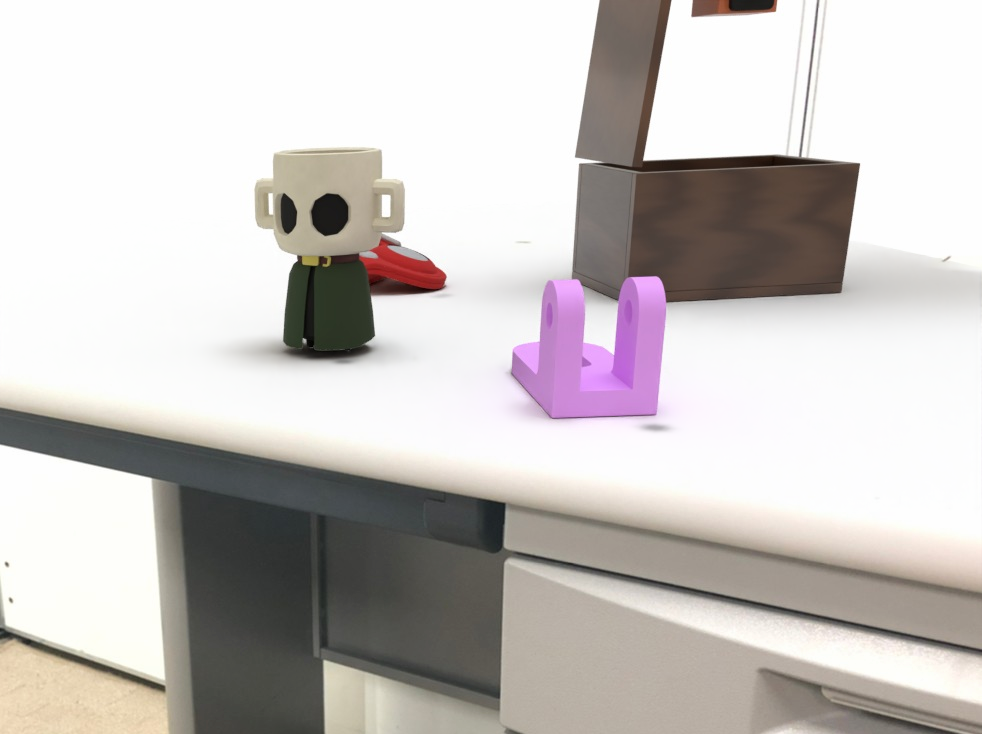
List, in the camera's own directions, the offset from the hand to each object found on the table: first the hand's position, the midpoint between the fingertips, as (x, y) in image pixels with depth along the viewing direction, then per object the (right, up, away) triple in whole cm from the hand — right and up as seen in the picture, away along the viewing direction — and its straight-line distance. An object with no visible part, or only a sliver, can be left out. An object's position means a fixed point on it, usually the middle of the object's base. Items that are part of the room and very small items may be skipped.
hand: (733, 9), depth 90 cm
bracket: (-18, -32, -20) cm, 41 cm away
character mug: (-31, -27, -8) cm, 42 cm away
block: (0, 0, 0) cm, 0 cm away
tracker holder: (-23, -17, +17) cm, 34 cm away
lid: (-7, -1, +2) cm, 7 cm away
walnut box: (+1, -19, +10) cm, 21 cm away
